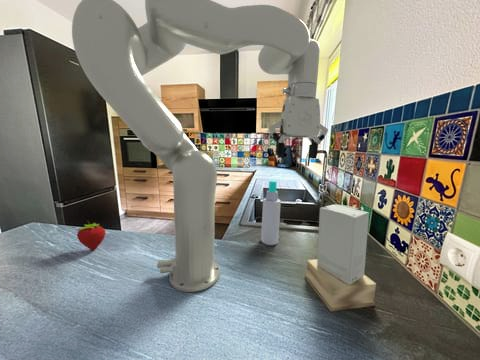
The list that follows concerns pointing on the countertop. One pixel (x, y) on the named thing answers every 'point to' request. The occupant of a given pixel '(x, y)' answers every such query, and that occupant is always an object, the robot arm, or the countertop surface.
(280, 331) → the countertop surface
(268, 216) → the spray bottle
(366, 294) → the riser block
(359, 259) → the skincare box
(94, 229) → the strawberry
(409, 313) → the countertop surface
